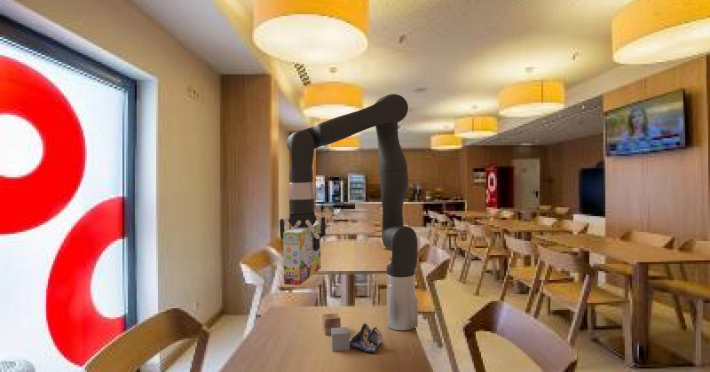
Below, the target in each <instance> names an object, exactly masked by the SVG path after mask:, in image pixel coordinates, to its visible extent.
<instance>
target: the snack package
mask: <svg viewBox="0 0 710 372" xmlns="http://www.w3.org/2000/svg"><path fill="white" fill-rule="evenodd" d="M350 339H351V340H350V348H358V349H360V350H361V352H364V353H366V354H377V351H378V347H379V346H380V344H381V343H382V342H383V340H382V339H383V334H382V332H381V331H380V329H379V328H378V327H370V326H369V325H368V324H367V323H366V322H365V323H363V324H362V326H361V328H360V330H359V331H358V332H357V333H356V335H354V336H353V337H351V338H350ZM368 344H371V346H367V345H368Z"/></svg>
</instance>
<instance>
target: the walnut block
mask: <svg viewBox="0 0 710 372" xmlns="http://www.w3.org/2000/svg"><path fill="white" fill-rule="evenodd" d="M321 319H322V321H321V322H322V332H323V333H324V335H325V336H328V335H331V328H339V327H342V326H341V325H342V324H341V316H340V314H339V312H333V313H324V314H323V313H322V314H321Z"/></svg>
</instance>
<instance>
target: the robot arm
mask: <svg viewBox="0 0 710 372" xmlns="http://www.w3.org/2000/svg"><path fill="white" fill-rule="evenodd" d="M408 112H409V104H408V101H407V100H406V98H405V97H403V96H402V95H400V94H396V93H392V94H386V95H385V96H382V97H380V98H379V99H377V100H376V102H375V103H374V104H372V105H370V106H367V107H364V108H362V109H359V110H355V111H353V112H350V113H346V114H343V115H339V116H336V117H334V118H330V119H328V120H325V121H322V122H319V123H318V124H316V125H314V126H310V127H307V128H305V129H302V130H301V129H300V130H296V131H294V132H291V134H290V135H289V136H288V138H287V140H286V146H287V149H288V151H289V152H290V162H291V163H290V165H289V168H288V169H289V170H288V171H289V172H288V174H289V175H288V176H289V177H288V178H289V187H288V197H289V198H288V199H289V200H288V204H289V217H288V218H283V217H282V218H279V222H278V223H279V236H280V239H282V240H283V232H285V231H286V230H285V227H286V226H287V223H288V222H289V224H290V225H291V228H290V229H294V228H300V227H309V228H310V230H311V232H312V233H313V235H314V236H315V238H314V250H315V251H318V249H319V248H320V249H321V238H323V237H326V217H325V216H323V215H321V216H316V212H315V209H316V208H315V197H316V196H315V188H314V187H315V186H314V172H313V163H314V152H315V150H316V149H318V148H321V147H323V146H327V145H331V144H333V143H337V142H339V141H340V142H341V141H342V140H344V139H347V138H349V137H352V136H354V135H357V134H358V133H361V132H364V131H365V130H368V129H372V128H375V132H376V138H377V153H378V154H377V155H378V168H379V169H378V171H379V183H380V184H379V185H380V195H381V196H380V197H381V199H380V200H381V206H382V207H381V209H382V216H381V219H382V220H381V225H382V226H381V240H382V244H383V246H384V247H385V249H387V250H388V251H390V252H391V262H390V263H388V264H387V265H386V269H385V271H386V314H387V315H386V318H387V319H386V320H387V323H386V324H387V327H388V328H389V329H391V330H394V331H410V330H413V329H415V328H418V327H419V323H418V320H419V317H418V316H419V315H418V314H419V312H418V308H419V307H418V297H416V277H415V276H416V275H415V274H416V273H415V271H416V267H417V263H418V246H419V245H418V243H419V242H418V236H417V233H416V231H415V230H414V229H413V228H412V227H410V226H408V225H404V218H403V217H404V216H403V214H404V213H403V207H404V203H405V199H406V197H407V193H408V189H409V188H408V187H409V171H408V168H409V167H408V162H407V159H406V156H405V153H404V151H403V149H402V146H401V144H400V140H399V129H398V126H399V125H398V123H400V122H402V121H403V120H404V119H405V118H406V116H407V115H408ZM316 222H317V223H319V224H320V233H317V232H316V230H315V229H314V227H313V225H314V223H316Z"/></svg>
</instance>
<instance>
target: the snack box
mask: <svg viewBox="0 0 710 372" xmlns="http://www.w3.org/2000/svg"><path fill="white" fill-rule="evenodd" d="M313 227H314V229H315V230H316V232H317V233H320V224H319V223H318V222H317V223H316V222H315V223H314V225H313ZM284 231H285V232H283V239H282V240H283V244H282V245H283V285H288V286H289V285H291V286H301V285H302V284H303V283H304V282H306V281H307V280H308V279H309V278H310V277H312V276H313V275H315V274H316V273H317V272H318V271H320V270H321V269H322V264H321V263H322V262H321V259H322V258H321V257H322V255H321V247H320V248H319V249H318V251H315V250H314V238H315V236H314V235H313V233H312V232H311V230H310V228H309V227H300V228H294V229H291V228H290V229H289V230H284Z"/></svg>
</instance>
